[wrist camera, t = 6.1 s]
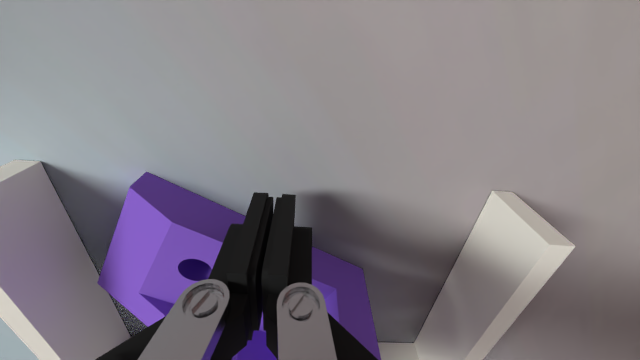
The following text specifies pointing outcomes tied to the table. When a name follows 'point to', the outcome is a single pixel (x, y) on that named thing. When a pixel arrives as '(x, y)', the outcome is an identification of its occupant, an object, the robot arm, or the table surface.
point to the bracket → (206, 261)
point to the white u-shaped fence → (109, 331)
